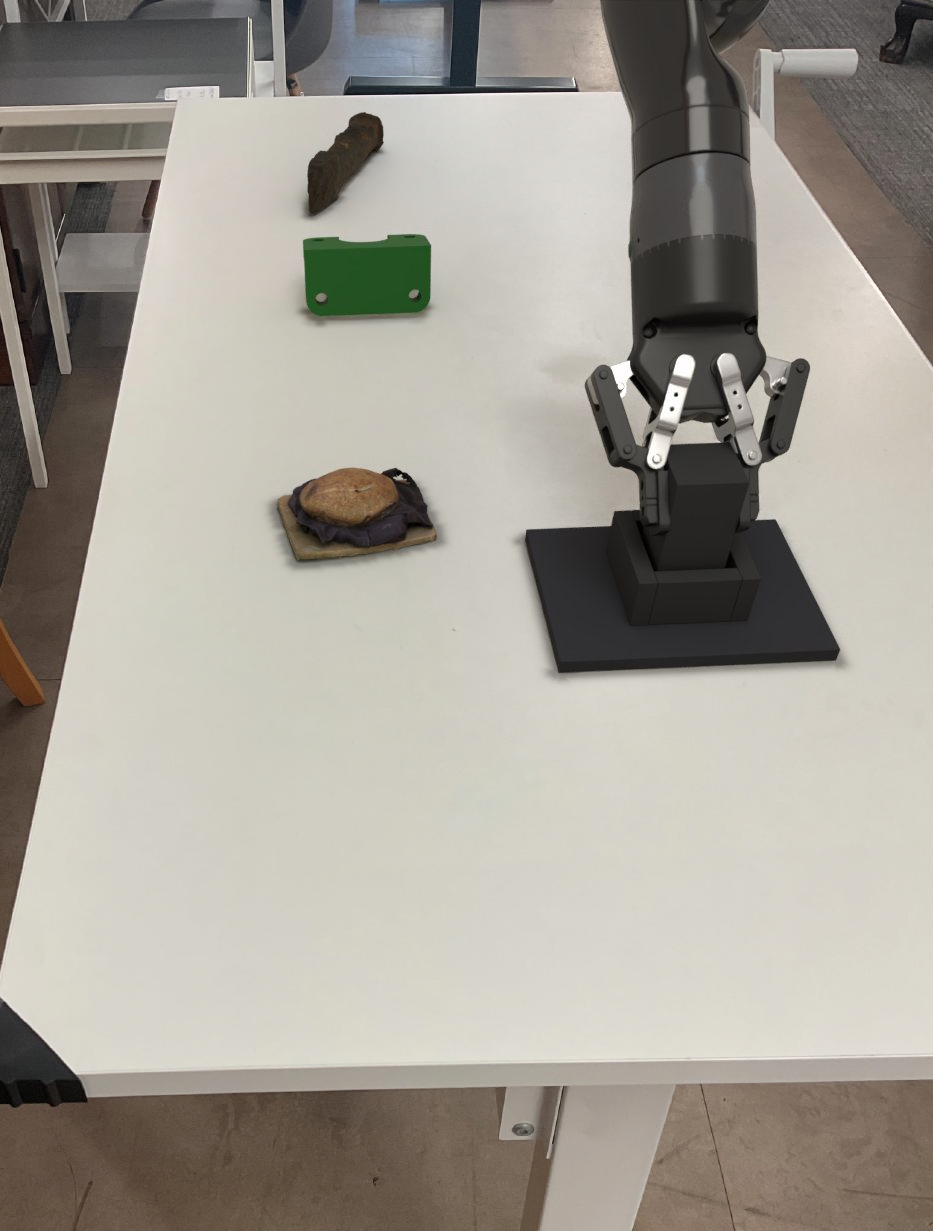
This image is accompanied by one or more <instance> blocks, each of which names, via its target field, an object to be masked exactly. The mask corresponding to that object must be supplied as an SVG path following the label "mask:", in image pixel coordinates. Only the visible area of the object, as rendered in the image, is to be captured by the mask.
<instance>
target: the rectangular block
mask: <svg viewBox="0 0 933 1231" xmlns="http://www.w3.org/2000/svg"><path fill="white" fill-rule="evenodd" d="M664 471H669V503H670V521H671V526H670V531H669V532H668V533H666V534H664V535H662V536H651V535H650V532H649V527H643V531H642V535H641V538H642V541H643V544H644V546H645V549H646V552H647V555H648V557H649V560H650V563H651V566H652V568H653V571H654V572H656V571H679V570H703V569H725V566H726V562H727V559H728V555H729V552H730V548H731V545H732V542H733V538H734V535H735V531H736V527H737V524H738V520H739V517H740V514H741V510H742V507H743V503H744V500H745V497H746V493H747V490H748V486H749V483H750V482H749V480H748V478H747V476H746V474H745V472H744V470H743V468H742V466H741V463H740V461H739V459H738V457H737V455H736V453H735V451H734V449H733V447H732V445H731V443H730V442H722V443H721V442H698V443H697V442H696V443H695V442H694V443H674V444H673V443H671V445H670V449H669V453H668V456H667V460H666V463H665V465H664Z"/></svg>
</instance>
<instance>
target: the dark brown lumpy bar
mask: <svg viewBox="0 0 933 1231" xmlns="http://www.w3.org/2000/svg"><path fill="white" fill-rule="evenodd" d="M384 134H385V133H384V125H383V121H382V119H381V118H380V117H379V116H377V115H374V114H372V113H368V112H366V111H362V112H358V113H356V114H353V115H352V116H351V117H349V119H348V125H347V127H346V128H345V129H344V131H342V132H339V134H336V135H335V138H334V141H333V143H332V145H330V147H329V148H328V149H327V150H318V152H317V153H315V154H314V157H312V158H311V159H310V160H309V162H308V165H307V172H306V173H307V174H306V177H307V189H306V190H307V191H306V192H307V194H308V212H309V214H313V213H317V212H319V211H321V210H322V209H324V208H326V207H327V206H329V204H331V203H333V201H335V200H337V199H338V198H339V192H340V188H341V186H342V185H343V184H344V183H345V182H346V181H347V180H348V179H349V178H350V177H352V176H353V174H354V173H355V171H356V169H357V168H358V167H359V166H360V165H361V164H362V163H363V162H364V161H365V159H367V158H368V156H369V155H370V153H378V152H379V151H380V149H381V148H382V147H383V145H384V143H385V142H384V136H385V135H384Z"/></svg>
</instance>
